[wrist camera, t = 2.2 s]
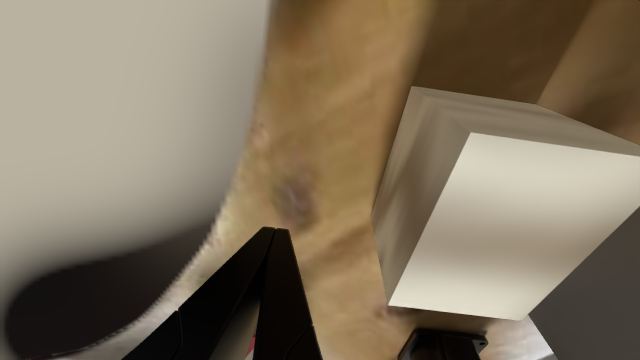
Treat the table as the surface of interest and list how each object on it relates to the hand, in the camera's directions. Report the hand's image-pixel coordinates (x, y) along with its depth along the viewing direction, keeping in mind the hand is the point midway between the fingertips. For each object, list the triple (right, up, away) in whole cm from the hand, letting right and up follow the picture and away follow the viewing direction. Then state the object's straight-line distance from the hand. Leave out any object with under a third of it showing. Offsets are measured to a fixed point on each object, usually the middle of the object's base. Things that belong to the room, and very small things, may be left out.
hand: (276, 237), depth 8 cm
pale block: (+8, +3, +6) cm, 10 cm away
